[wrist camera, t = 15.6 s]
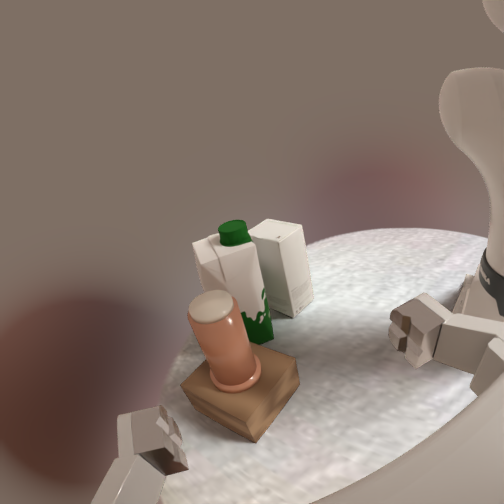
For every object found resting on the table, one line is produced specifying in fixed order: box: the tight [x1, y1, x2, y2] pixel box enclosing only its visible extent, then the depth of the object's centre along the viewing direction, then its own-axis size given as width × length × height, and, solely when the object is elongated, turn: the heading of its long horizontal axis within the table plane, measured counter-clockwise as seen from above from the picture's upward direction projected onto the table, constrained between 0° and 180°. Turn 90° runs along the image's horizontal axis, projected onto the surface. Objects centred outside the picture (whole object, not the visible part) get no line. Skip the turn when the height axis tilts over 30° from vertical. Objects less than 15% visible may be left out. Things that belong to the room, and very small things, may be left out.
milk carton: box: [192, 220, 274, 345], centre depth 48 cm, size 9×9×20 cm
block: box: [180, 342, 300, 443], centre depth 40 cm, size 11×11×6 cm
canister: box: [188, 290, 262, 394], centre depth 35 cm, size 7×7×12 cm
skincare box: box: [248, 219, 314, 318], centre depth 55 cm, size 8×7×16 cm
